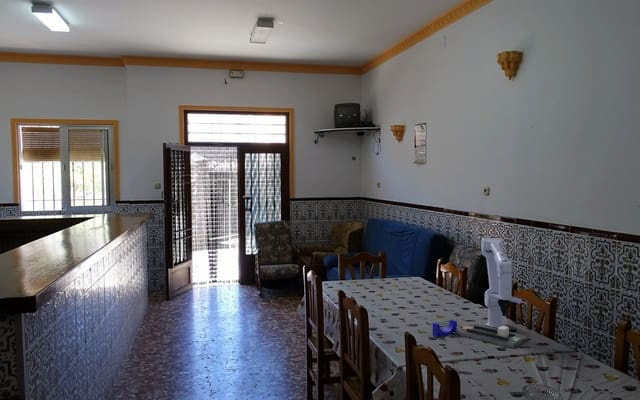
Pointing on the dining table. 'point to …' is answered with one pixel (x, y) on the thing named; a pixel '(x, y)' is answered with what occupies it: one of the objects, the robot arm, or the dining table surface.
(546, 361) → the dining table surface
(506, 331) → the switch handle
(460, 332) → the breaker panel
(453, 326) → the cable clip
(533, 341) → the dining table surface
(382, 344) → the dining table surface
